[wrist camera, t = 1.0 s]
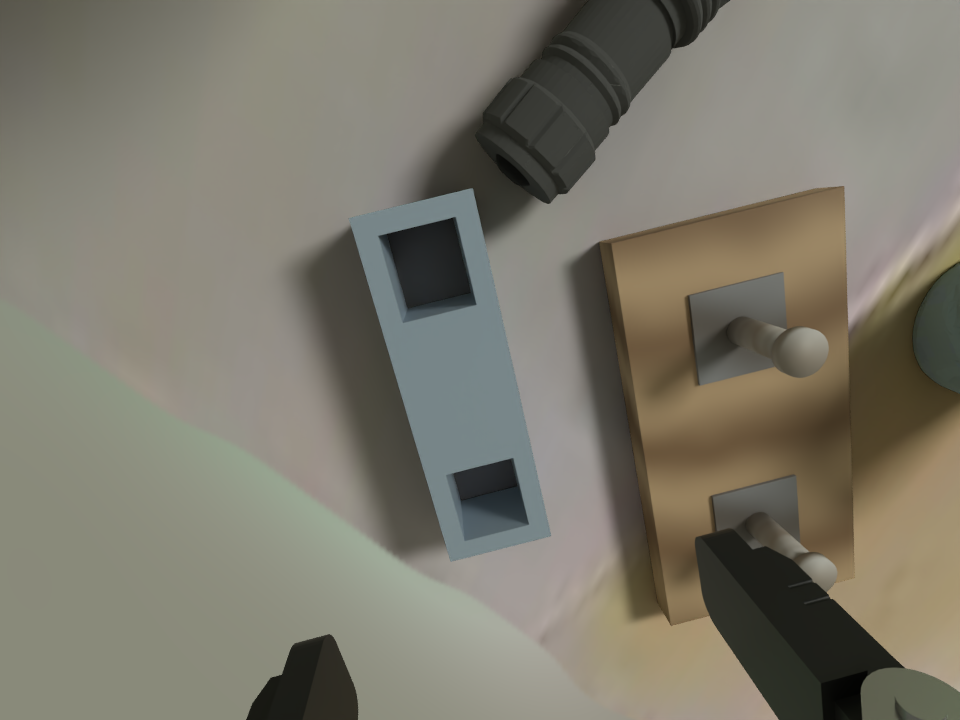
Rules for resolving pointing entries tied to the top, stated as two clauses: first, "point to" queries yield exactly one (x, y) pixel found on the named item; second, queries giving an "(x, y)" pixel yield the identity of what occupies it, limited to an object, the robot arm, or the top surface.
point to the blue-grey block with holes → (456, 380)
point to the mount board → (738, 385)
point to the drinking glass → (940, 331)
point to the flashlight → (584, 88)
